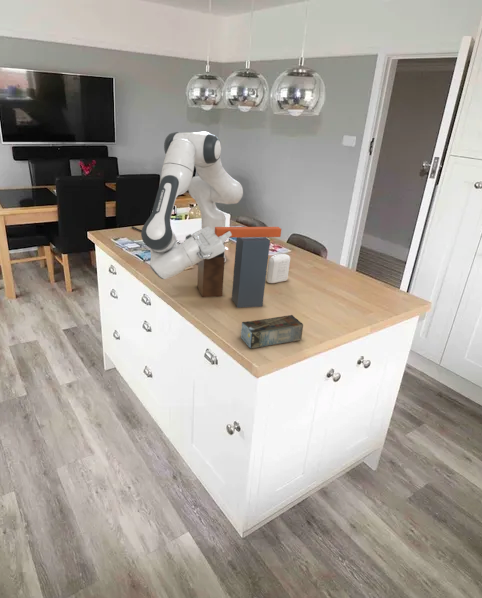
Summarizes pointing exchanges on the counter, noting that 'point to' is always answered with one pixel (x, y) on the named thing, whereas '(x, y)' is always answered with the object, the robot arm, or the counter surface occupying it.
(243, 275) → the stand
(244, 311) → the counter surface
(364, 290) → the counter surface
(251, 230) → the orange bar
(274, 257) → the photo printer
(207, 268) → the wood grain post
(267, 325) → the beverage carton
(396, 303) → the counter surface
